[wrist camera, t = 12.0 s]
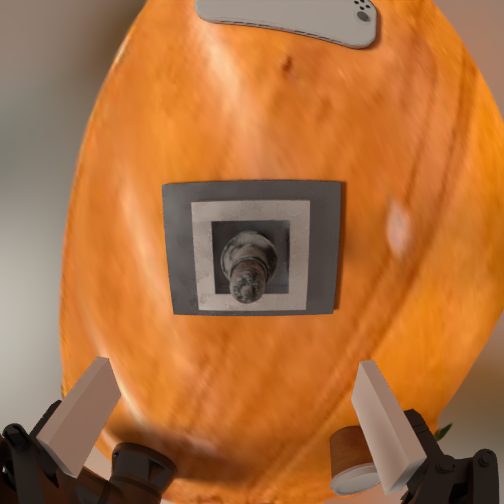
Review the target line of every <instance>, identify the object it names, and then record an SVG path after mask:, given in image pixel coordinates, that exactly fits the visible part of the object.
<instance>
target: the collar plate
mask: <svg viewBox="0 0 504 504" xmlns="http://www.w3.org/2000/svg"><path fill="white" fill-rule="evenodd" d="M162 197H163V215H164V229H165V242H166V253H167V263H168V273H169V281H170V290H171V298H172V305H173V312H174V314H177V315H207V316H286V315H317V314H333V309H334V300H335V290H336V278H337V266H338V251H339V233H340V205H341V182H333V181H294V180H257V181H218V182H196V183H179V184H165V185H162ZM246 230H256V231H259V232H261V233H263V234H265V235H266V236H267V237H268V238H269V239H270V241H271V242H272V244H273V245H274V246H275V248H276V250H277V252H278V257H279V267H278V270H277V273H276V275H275V276H274V278H273V279H272V280H271V281H270V282H269V283H268V284H266V285H265V291H264V294H263V295H262V297H261V298H260V299H259V300H258V301H256V302H254V303H250V304H244V303H240V302H238V301H237V300H235V299H234V298H233V296H232V295H231V292H230V282H229V280H228V279H227V278H226V276H225V275H224V273H223V270H222V267H221V255H222V251H223V249H224V248H225V246H226V244H227V243H228V242H229V241H230V240H231V239H232V238H233V237H234V236H235V235H236V234H238V233H240V232H242V231H246Z"/></svg>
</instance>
